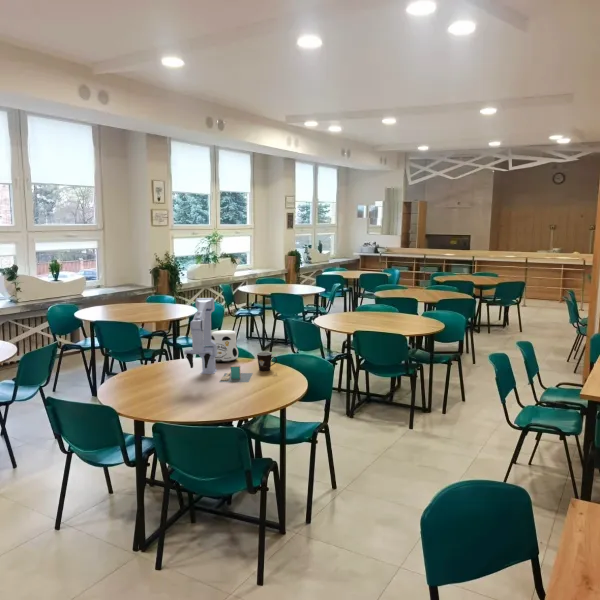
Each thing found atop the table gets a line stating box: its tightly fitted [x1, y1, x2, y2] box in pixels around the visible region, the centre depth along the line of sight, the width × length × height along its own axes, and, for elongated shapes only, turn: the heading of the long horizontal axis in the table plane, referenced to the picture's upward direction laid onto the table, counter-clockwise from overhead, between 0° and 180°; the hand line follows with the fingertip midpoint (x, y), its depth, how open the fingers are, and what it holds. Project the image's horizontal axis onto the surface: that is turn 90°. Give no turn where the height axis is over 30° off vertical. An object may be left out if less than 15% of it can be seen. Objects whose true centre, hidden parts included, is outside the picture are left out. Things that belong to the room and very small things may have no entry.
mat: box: [219, 372, 253, 383], centre depth 303 cm, size 18×16×1 cm
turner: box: [220, 371, 231, 381], centre depth 305 cm, size 14×4×1 cm, turn 177°
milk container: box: [211, 329, 239, 363], centre depth 342 cm, size 17×17×18 cm
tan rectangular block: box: [230, 365, 242, 379], centre depth 301 cm, size 2×5×7 cm, turn 87°
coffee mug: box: [256, 351, 278, 372], centre depth 317 cm, size 12×9×10 cm
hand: (199, 367), depth 288 cm, fingers open, 7 cm apart
